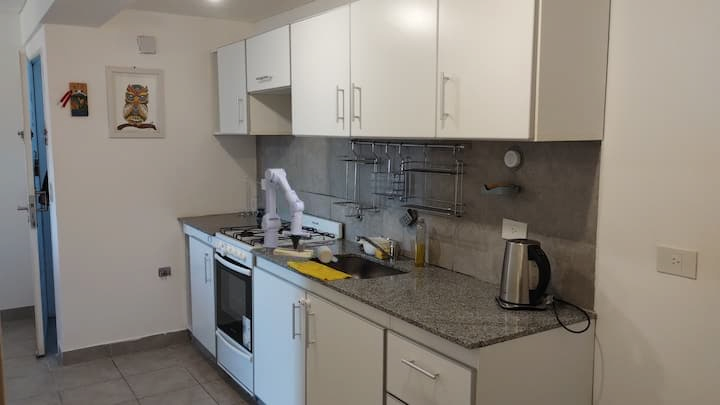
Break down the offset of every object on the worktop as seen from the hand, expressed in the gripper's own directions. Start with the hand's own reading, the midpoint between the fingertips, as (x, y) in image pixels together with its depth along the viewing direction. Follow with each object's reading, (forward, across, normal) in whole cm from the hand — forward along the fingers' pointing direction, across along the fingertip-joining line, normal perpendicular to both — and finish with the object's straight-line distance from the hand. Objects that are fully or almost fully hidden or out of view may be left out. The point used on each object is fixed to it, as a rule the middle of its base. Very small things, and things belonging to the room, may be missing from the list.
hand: (295, 249), depth 310 cm
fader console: (+3, -1, 0) cm, 3 cm away
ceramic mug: (+3, +19, -9) cm, 21 cm away
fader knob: (+1, +3, 0) cm, 3 cm away
